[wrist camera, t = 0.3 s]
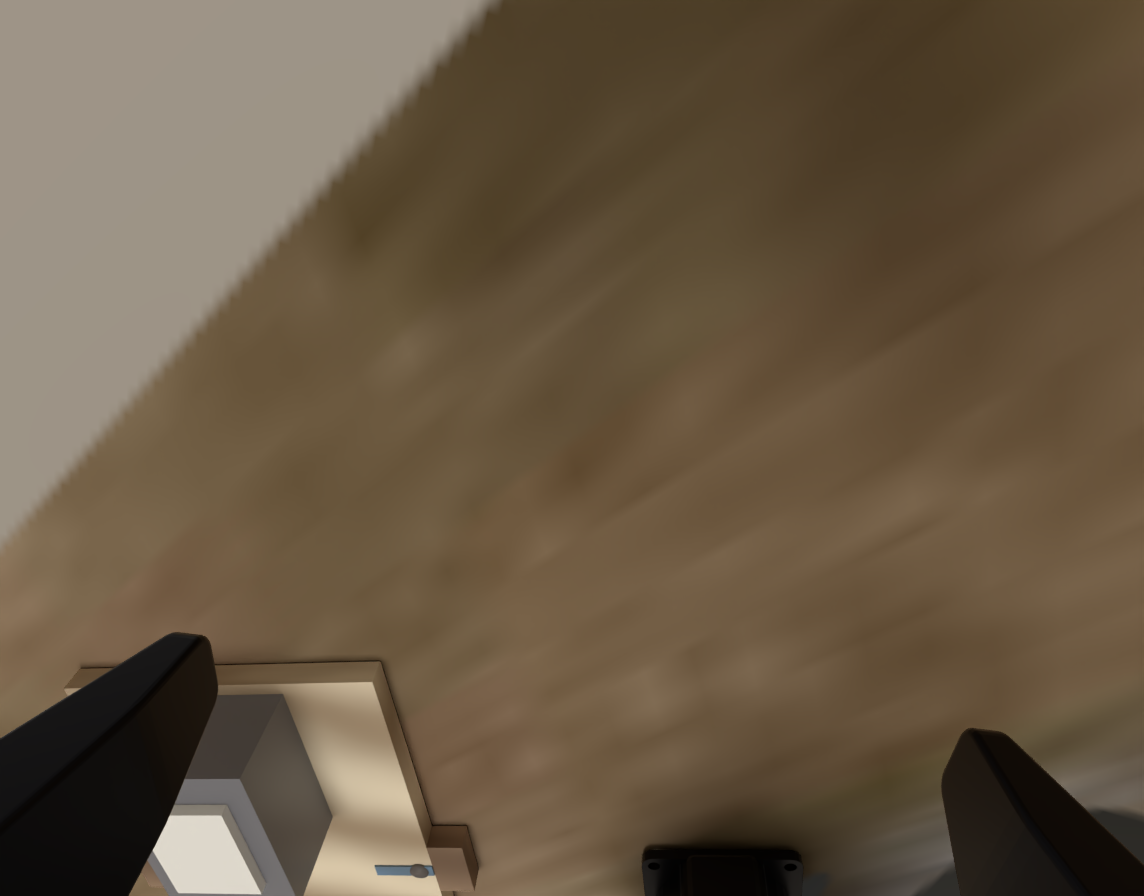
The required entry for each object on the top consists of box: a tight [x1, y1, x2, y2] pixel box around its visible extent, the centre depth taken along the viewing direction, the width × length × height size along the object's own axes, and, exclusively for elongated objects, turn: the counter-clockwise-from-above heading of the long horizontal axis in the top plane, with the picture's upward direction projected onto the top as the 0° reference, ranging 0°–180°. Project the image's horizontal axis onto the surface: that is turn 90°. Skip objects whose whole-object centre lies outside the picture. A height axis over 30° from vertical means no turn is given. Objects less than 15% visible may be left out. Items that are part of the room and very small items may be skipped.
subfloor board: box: [64, 661, 479, 896], centre depth 34 cm, size 16×15×1 cm
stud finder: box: [148, 694, 333, 896], centre depth 29 cm, size 7×5×4 cm
